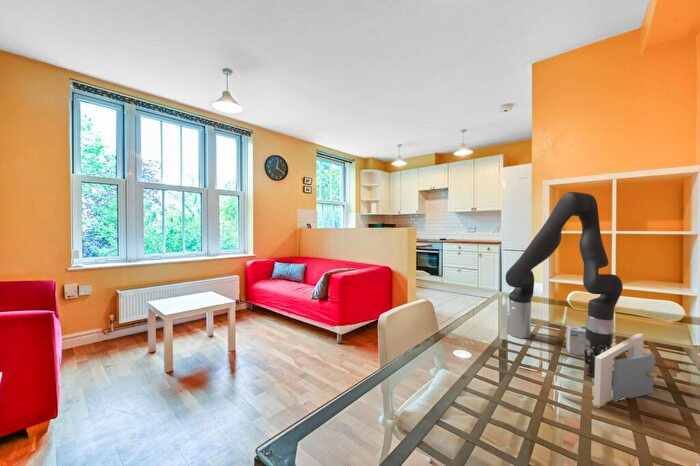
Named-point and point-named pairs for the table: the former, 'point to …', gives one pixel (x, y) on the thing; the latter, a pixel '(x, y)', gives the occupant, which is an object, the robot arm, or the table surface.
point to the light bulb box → (576, 339)
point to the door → (633, 376)
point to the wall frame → (606, 365)
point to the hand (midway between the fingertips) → (596, 372)
